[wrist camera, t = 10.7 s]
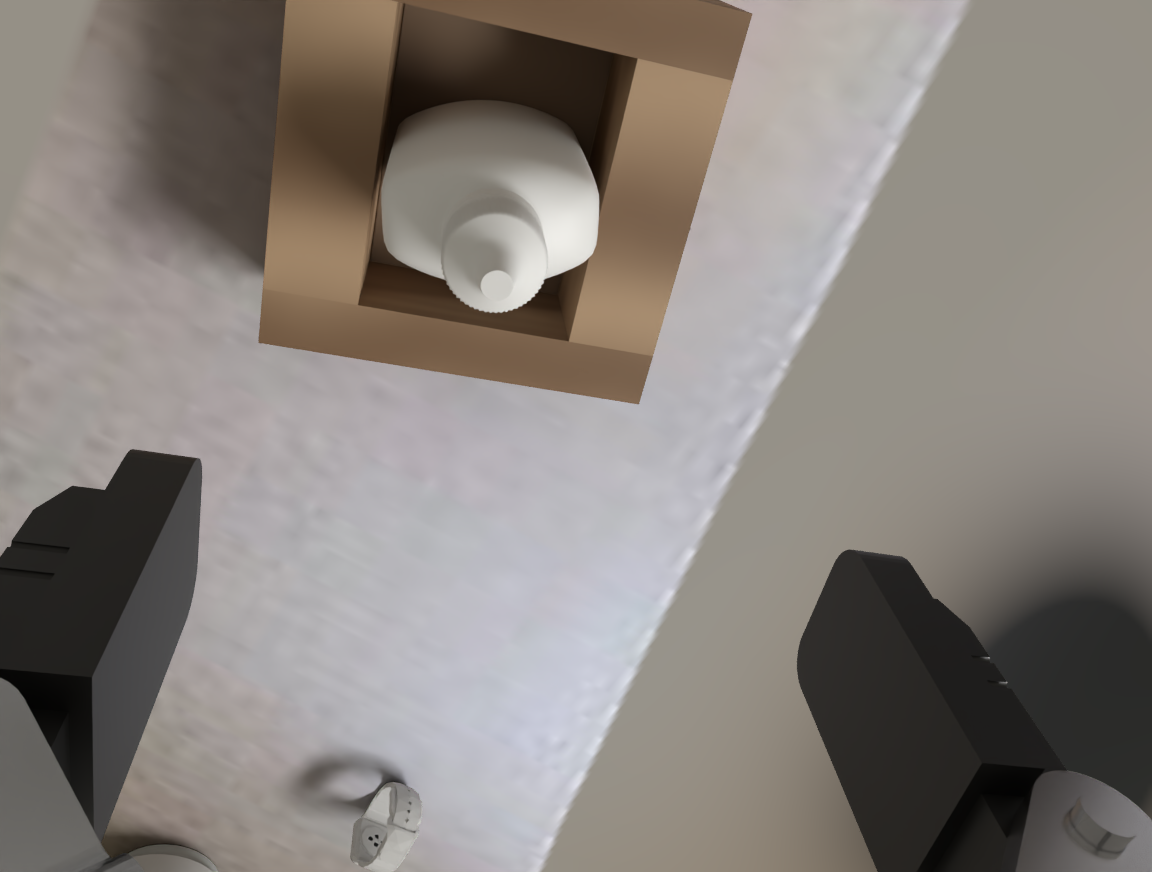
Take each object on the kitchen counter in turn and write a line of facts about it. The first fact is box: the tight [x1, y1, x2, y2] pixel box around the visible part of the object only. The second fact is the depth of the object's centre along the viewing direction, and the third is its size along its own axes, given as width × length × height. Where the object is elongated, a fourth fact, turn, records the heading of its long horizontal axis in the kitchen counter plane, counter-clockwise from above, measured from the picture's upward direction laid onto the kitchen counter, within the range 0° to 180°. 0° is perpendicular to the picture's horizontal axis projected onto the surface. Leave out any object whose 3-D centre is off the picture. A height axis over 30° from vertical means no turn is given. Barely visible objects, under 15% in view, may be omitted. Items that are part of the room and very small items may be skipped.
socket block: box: [259, 0, 752, 404], centre depth 30 cm, size 12×12×5 cm
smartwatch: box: [350, 782, 422, 872], centre depth 44 cm, size 4×2×4 cm, turn 143°
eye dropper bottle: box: [381, 100, 599, 313], centre depth 26 cm, size 4×6×12 cm
